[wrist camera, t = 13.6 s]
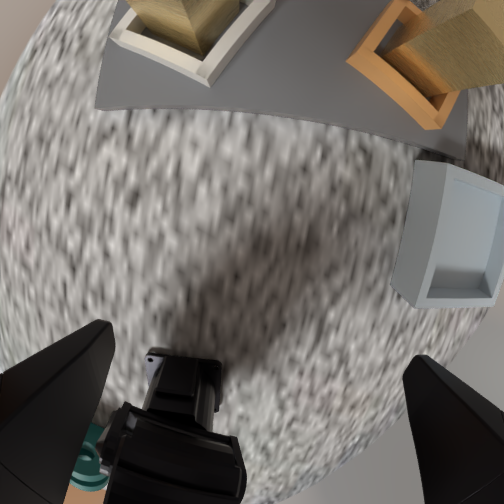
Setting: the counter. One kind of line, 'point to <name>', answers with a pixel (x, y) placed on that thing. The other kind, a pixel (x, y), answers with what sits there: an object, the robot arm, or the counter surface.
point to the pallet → (287, 71)
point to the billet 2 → (450, 47)
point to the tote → (451, 239)
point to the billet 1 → (187, 20)
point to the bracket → (89, 463)
